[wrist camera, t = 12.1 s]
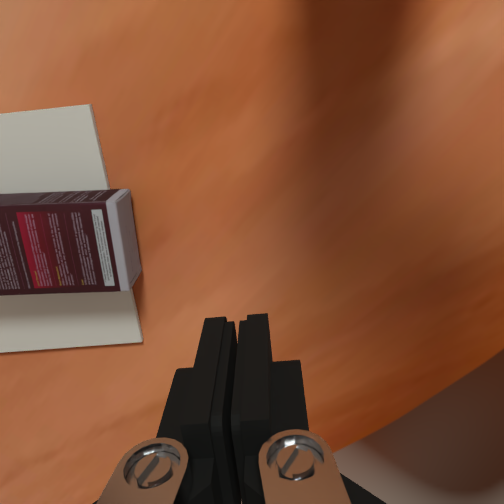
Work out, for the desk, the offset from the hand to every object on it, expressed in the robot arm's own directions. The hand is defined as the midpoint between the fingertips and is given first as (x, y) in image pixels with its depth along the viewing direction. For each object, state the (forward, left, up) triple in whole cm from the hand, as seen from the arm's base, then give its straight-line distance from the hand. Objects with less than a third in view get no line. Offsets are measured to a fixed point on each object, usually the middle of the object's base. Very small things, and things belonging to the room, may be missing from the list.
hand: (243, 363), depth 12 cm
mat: (+22, +6, -31) cm, 39 cm away
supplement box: (+12, +6, -28) cm, 31 cm away
